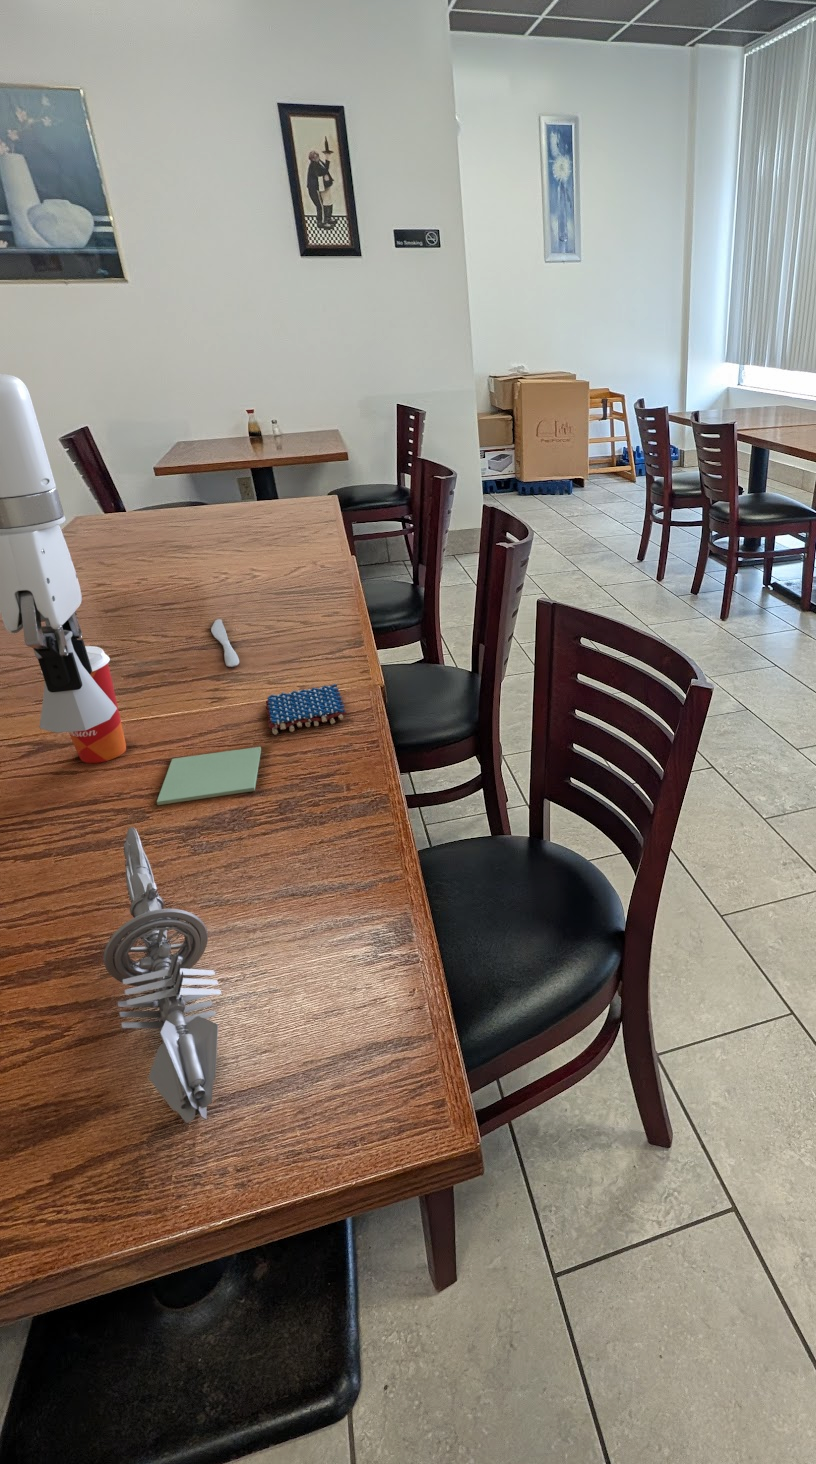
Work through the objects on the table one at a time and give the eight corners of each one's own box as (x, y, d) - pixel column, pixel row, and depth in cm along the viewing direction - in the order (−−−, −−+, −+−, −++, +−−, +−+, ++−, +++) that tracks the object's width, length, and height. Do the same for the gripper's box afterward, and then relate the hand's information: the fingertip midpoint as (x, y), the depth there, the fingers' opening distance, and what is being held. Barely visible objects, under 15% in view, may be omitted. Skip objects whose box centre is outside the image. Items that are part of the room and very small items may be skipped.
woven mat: (265, 706, 121) (263, 694, 120) (338, 694, 124) (336, 681, 123) (269, 736, 112) (266, 723, 111) (348, 721, 115) (346, 708, 115)
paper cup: (63, 754, 109) (30, 656, 103) (123, 734, 114) (95, 640, 108) (82, 773, 104) (49, 672, 98) (144, 752, 109) (116, 654, 103)
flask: (26, 734, 87) (-4, 646, 83) (71, 705, 94) (45, 622, 89) (88, 737, 86) (61, 648, 82) (130, 707, 93) (107, 623, 88)
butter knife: (221, 666, 134) (240, 662, 135) (208, 621, 156) (224, 617, 157) (222, 670, 134) (241, 665, 135) (209, 624, 156) (225, 620, 157)
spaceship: (178, 797, 83) (89, 795, 78) (270, 1059, 57) (147, 1080, 53) (163, 863, 85) (75, 865, 80) (245, 1141, 60) (124, 1169, 55)
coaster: (157, 805, 97) (156, 801, 97) (173, 761, 106) (172, 758, 106) (254, 791, 99) (254, 787, 99) (261, 749, 109) (260, 746, 108)
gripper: (4, 497, 86) (55, 659, 94) (-61, 532, 72) (6, 719, 80) (82, 492, 88) (125, 651, 96) (34, 526, 74) (90, 710, 82)
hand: (70, 681), depth 88 cm, fingers closed on flask, 3 cm apart
